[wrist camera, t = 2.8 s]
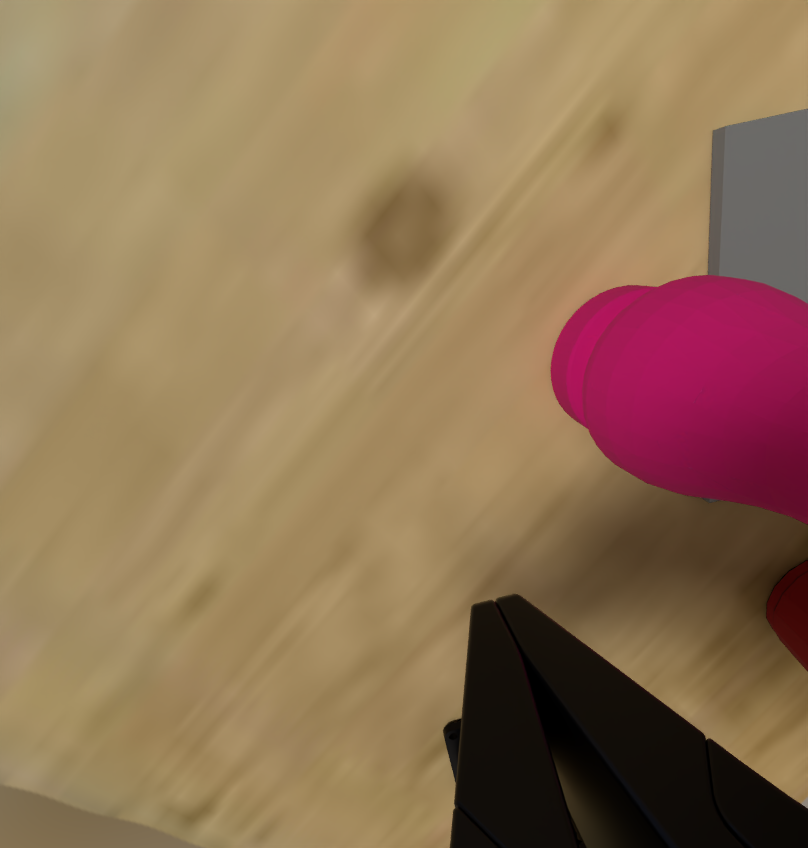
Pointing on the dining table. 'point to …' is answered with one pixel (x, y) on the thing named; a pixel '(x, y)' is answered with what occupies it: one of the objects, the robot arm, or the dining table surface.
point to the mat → (761, 203)
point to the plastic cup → (791, 612)
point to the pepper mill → (695, 387)
